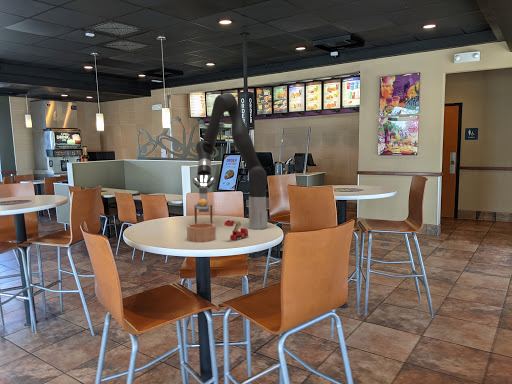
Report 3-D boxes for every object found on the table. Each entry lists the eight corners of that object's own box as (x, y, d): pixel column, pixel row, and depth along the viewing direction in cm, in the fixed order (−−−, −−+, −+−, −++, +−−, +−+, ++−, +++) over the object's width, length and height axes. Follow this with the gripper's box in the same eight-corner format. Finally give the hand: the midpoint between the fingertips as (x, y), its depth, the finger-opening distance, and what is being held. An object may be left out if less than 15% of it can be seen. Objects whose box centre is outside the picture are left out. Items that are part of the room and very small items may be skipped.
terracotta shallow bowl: (220, 237, 185) (220, 224, 184) (203, 243, 174) (203, 229, 173) (199, 234, 191) (199, 222, 191) (181, 239, 180) (181, 226, 180)
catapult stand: (193, 229, 205) (192, 203, 204) (215, 229, 206) (215, 203, 204) (190, 235, 191) (190, 207, 190) (214, 234, 192) (214, 206, 190)
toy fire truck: (249, 237, 186) (249, 217, 185) (229, 242, 175) (229, 221, 175) (243, 236, 188) (243, 216, 187) (224, 241, 178) (224, 220, 177)
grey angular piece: (198, 211, 204) (198, 187, 204) (210, 211, 205) (210, 186, 205) (195, 213, 186) (195, 186, 186) (208, 213, 186) (208, 186, 186)
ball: (208, 206, 195) (208, 198, 195) (203, 206, 191) (203, 198, 192) (202, 207, 197) (202, 199, 197) (197, 206, 193) (197, 198, 194)
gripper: (216, 173, 215) (216, 197, 204) (192, 173, 214) (191, 197, 203) (216, 164, 210) (215, 188, 199) (191, 164, 209) (190, 188, 198)
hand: (203, 193), depth 201 cm, fingers closed
